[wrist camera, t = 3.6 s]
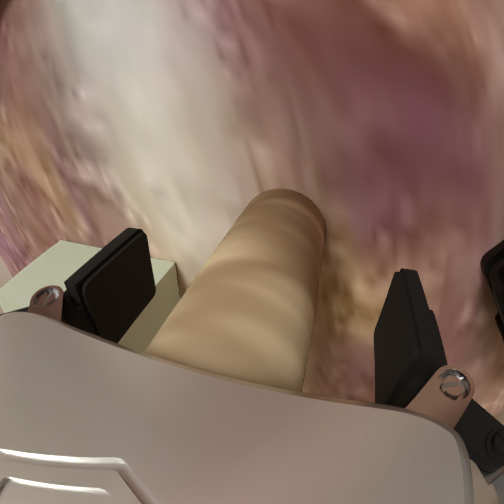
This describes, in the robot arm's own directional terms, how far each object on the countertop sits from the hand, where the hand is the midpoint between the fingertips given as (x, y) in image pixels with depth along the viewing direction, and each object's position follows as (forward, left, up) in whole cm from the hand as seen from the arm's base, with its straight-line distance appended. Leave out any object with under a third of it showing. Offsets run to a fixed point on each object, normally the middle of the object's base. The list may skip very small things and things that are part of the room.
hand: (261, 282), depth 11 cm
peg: (0, 0, -4) cm, 4 cm away
